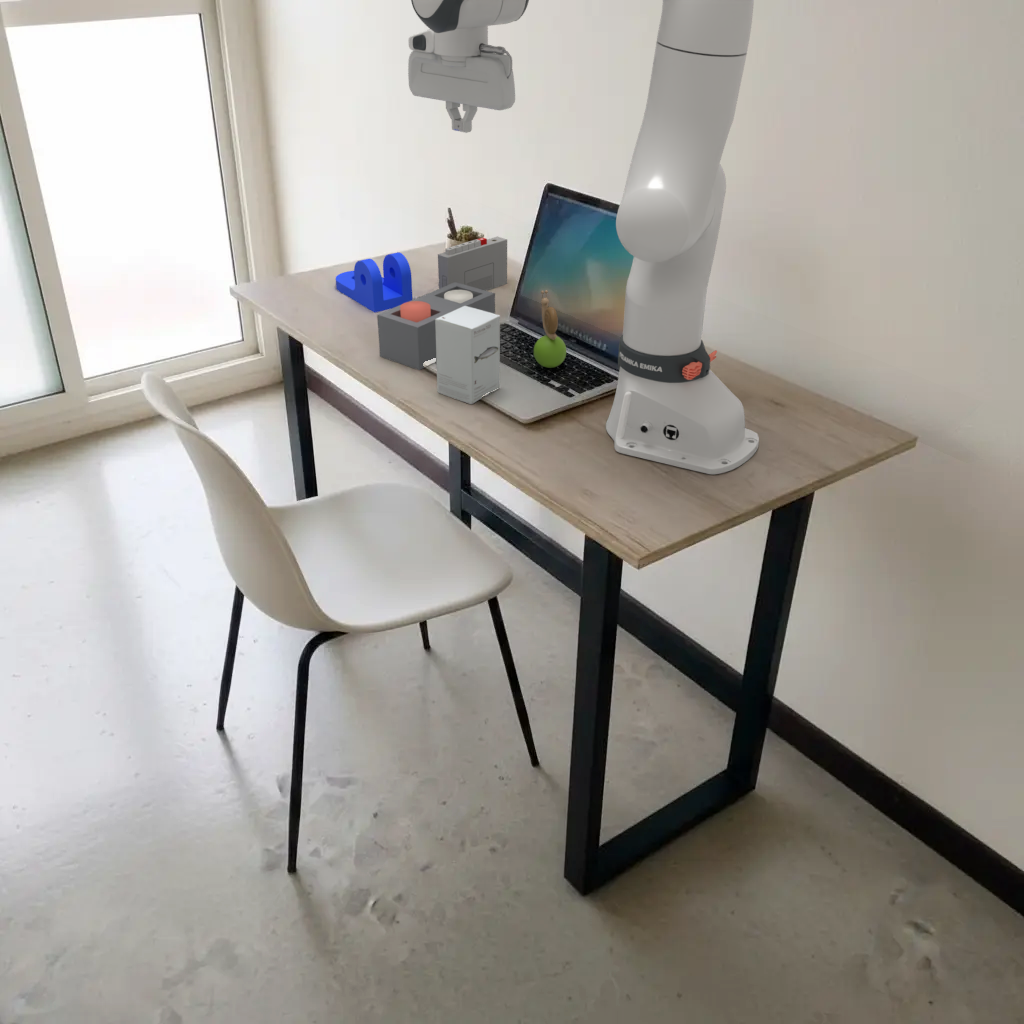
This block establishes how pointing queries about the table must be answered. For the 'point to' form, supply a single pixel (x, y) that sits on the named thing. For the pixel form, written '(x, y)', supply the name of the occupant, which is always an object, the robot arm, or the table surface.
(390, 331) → the block
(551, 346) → the snail figurine
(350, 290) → the bracket
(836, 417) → the table surface
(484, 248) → the cassette player
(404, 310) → the red plug
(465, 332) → the supplement box
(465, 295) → the plug
